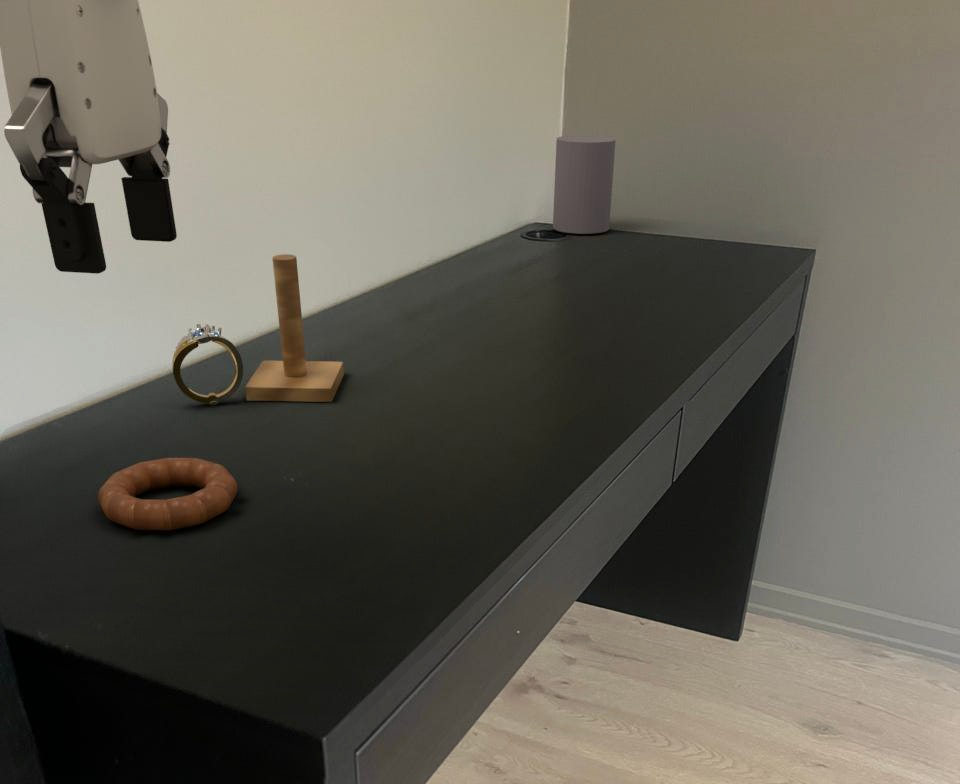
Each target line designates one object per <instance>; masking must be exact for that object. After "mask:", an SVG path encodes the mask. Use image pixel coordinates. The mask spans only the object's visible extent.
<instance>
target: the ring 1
mask: <svg viewBox="0 0 960 784" xmlns="http://www.w3.org/2000/svg"><path fill="white" fill-rule="evenodd" d="M168 487H169V488H170V487H196V488H199V490H197V491H195V492H194V493H191V494H187V495H183V496H178V497H172V498H168V499H147V498H146V499H144V498H143V499H142V498H138V497H137V496H140V495H142V494H144V493H147V492H148V491H153V490H159V489H164V488H168ZM238 487H239V486H238V483H237V481H236V479H235V478H234V476H233V475H232V474H231V473H230V472H229V470H228V469H227V468H226V467H225V466H223V465H222V464H219V463H216V462H213V461H209V460H205V459H202V458H198V457H163V458H157V459H152V460H147V461H142V462H141V461H140V462H137V463H134V464H132V465H130V466H128V467H126V468H123V469H120V470H118V471H115V472H114V473H113V474H112V475H110V476H109V477H108V479H107V480H106V481H105V482H104V484H103V485H102V486H101V487H100V488H99V491H98V493H97V500H98V503H99V505H100V508H101V509H102V511H103V513H104V515H105V517H106V518H107V519H108V520H109V521H111V522H113V523H115V524H118V525H122V526H125V527H126V528H130V529H133V530H137V531H174V530H178V529H179V530H180V529H184V528H188V527H194V526H198V525H202V524H204V523H207V522H208V521H210V520H212V519H214V518H216V517H218V516H220V515H222V514H223V513H225V512H226V511H228V510H229V508H230V507H231V504H232V503H233V501H234V499H235V497H236V496H237V493H238V490H239V489H238Z"/></svg>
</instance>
